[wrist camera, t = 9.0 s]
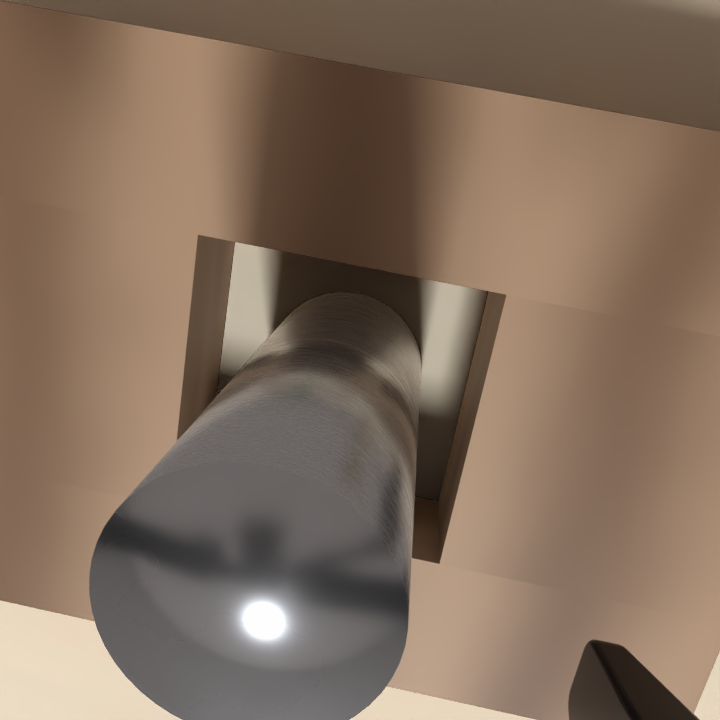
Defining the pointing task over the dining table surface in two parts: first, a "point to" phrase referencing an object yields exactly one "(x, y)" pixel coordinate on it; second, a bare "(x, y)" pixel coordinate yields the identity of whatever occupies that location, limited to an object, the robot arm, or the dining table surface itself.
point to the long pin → (276, 530)
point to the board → (392, 254)
